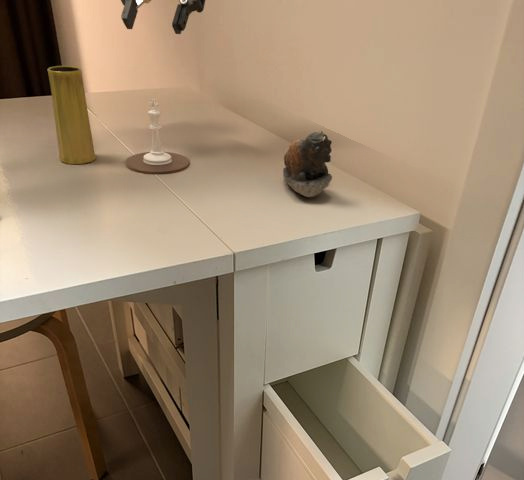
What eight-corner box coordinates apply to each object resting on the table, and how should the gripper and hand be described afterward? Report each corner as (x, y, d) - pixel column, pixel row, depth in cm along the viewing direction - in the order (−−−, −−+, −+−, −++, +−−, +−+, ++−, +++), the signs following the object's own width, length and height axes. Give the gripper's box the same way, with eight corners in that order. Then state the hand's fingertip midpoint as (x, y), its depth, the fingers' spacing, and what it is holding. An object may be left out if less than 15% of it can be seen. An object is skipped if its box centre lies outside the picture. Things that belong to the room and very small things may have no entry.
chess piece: (160, 167, 94) (156, 104, 88) (137, 161, 95) (131, 99, 90) (177, 159, 97) (174, 98, 91) (155, 154, 99) (150, 94, 93)
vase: (88, 151, 100) (75, 64, 91) (101, 161, 96) (90, 70, 88) (54, 156, 97) (38, 66, 88) (67, 166, 93) (52, 73, 85)
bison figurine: (274, 178, 93) (277, 115, 87) (313, 176, 94) (319, 114, 88) (294, 205, 84) (300, 136, 78) (338, 203, 85) (347, 135, 79)
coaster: (147, 178, 90) (147, 176, 90) (113, 160, 97) (113, 158, 96) (202, 166, 96) (202, 163, 96) (166, 150, 103) (166, 147, 102)
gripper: (129, -84, 88) (100, 6, 85) (213, -80, 85) (185, 13, 82) (146, -43, 95) (120, 41, 93) (224, -38, 92) (199, 49, 90)
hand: (151, 28), depth 88 cm, fingers open, 8 cm apart
